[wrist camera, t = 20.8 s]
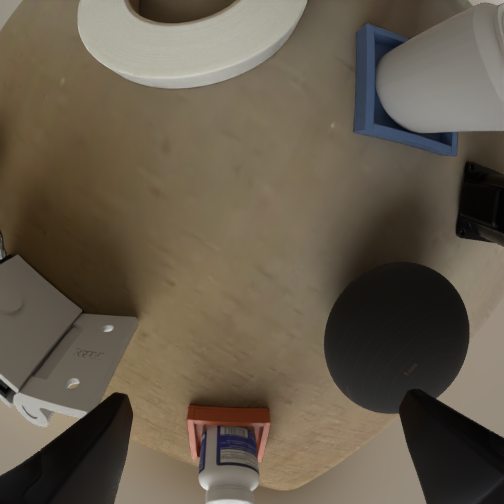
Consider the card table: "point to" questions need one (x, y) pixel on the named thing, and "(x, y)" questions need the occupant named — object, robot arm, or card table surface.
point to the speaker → (396, 335)
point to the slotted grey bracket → (0, 252)
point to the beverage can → (448, 75)
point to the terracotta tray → (227, 424)
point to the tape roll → (186, 40)
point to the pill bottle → (228, 464)
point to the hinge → (53, 347)
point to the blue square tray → (368, 103)
